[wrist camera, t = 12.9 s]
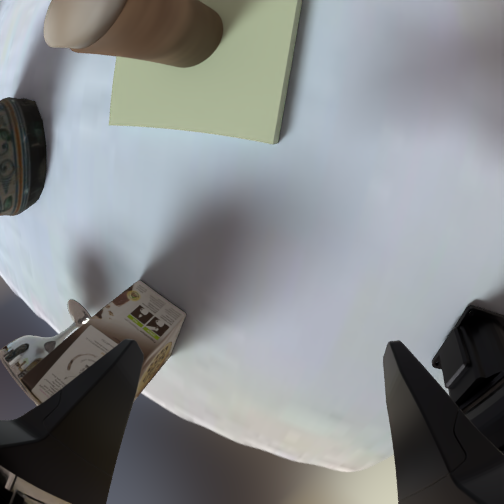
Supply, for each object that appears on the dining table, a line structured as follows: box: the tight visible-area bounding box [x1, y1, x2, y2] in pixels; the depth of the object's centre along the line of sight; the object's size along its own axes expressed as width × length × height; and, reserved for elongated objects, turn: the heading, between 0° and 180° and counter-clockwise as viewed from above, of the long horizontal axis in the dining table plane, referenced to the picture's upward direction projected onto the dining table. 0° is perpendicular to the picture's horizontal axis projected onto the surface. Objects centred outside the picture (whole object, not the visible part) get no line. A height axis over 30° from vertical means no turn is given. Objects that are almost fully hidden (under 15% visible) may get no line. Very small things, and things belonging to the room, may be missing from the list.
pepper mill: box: [44, 0, 223, 68], centre depth 10 cm, size 5×5×10 cm
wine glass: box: [0, 300, 91, 400], centre depth 30 cm, size 8×8×15 cm
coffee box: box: [20, 280, 186, 406], centre depth 22 cm, size 9×6×16 cm
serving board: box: [109, 0, 302, 144], centre depth 15 cm, size 14×14×1 cm
